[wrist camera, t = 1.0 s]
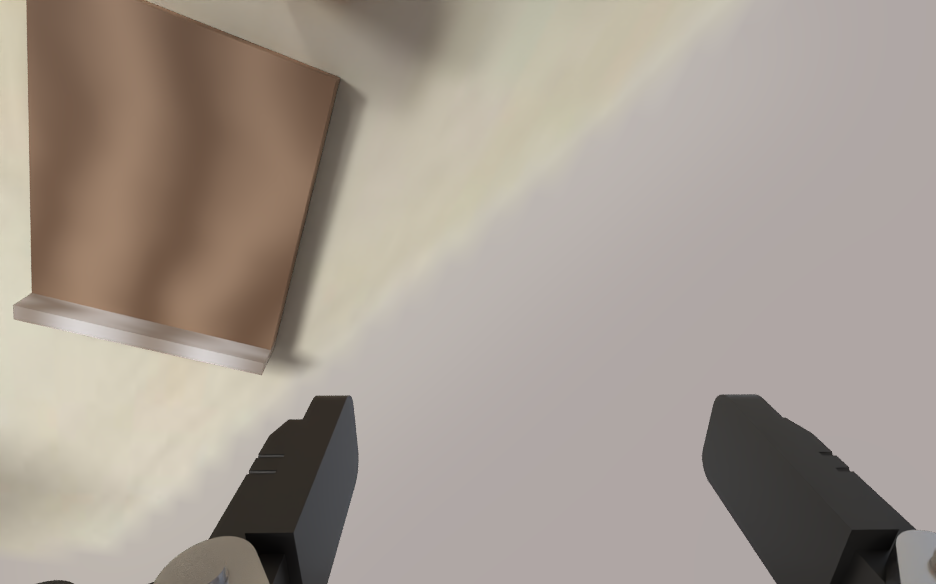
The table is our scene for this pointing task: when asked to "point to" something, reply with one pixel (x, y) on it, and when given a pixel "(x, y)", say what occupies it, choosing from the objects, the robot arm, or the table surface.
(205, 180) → the shelf board
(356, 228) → the table surface
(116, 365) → the table surface
